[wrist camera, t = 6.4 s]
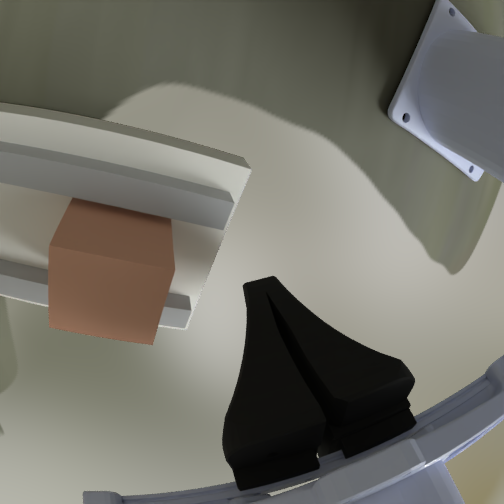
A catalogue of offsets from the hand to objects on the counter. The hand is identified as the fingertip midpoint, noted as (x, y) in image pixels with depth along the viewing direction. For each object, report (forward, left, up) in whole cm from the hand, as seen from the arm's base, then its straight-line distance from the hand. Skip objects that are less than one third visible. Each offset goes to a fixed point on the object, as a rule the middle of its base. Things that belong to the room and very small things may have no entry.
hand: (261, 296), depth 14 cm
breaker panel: (+10, 0, -3) cm, 10 cm away
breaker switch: (+6, 0, -2) cm, 7 cm away
